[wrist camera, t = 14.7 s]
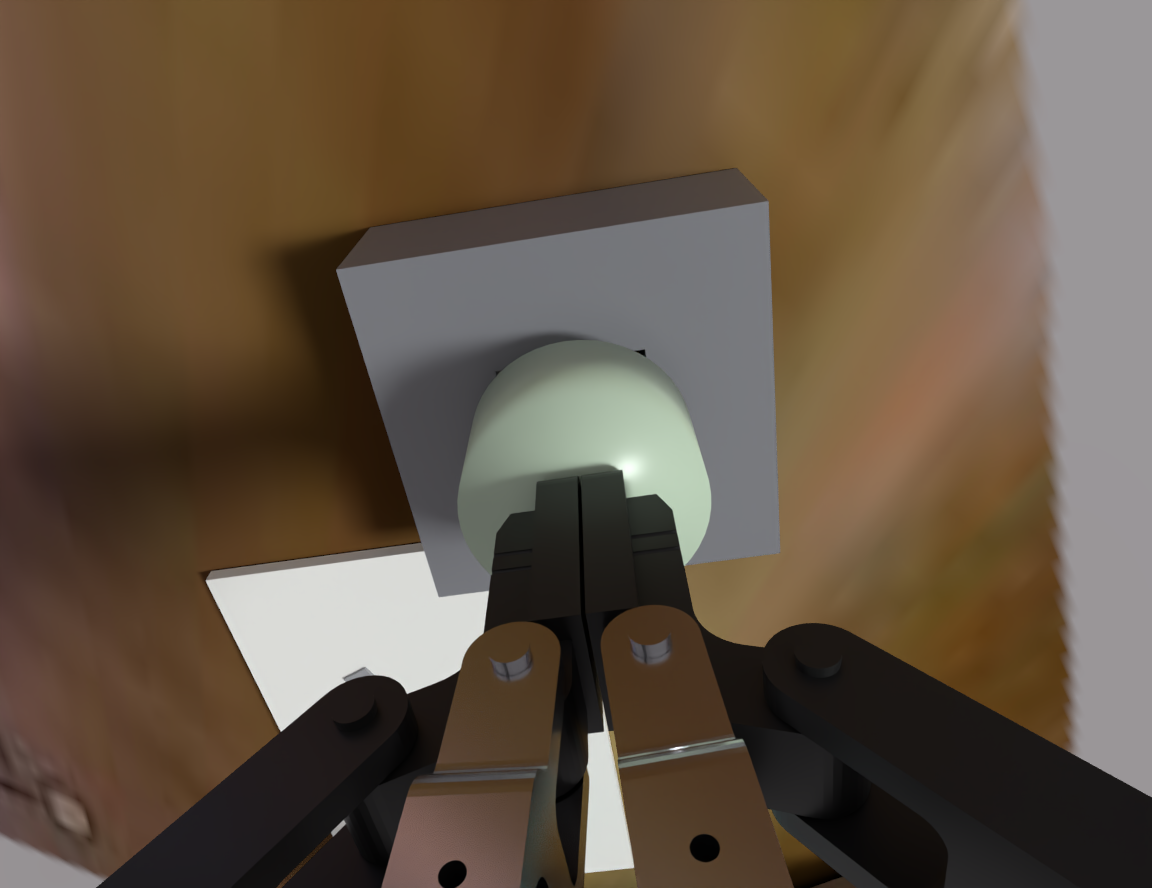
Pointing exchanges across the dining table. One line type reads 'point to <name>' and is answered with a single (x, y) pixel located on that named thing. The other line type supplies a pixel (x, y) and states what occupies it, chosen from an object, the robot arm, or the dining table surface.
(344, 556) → the pad
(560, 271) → the button housing
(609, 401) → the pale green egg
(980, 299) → the dining table surface
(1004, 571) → the dining table surface
